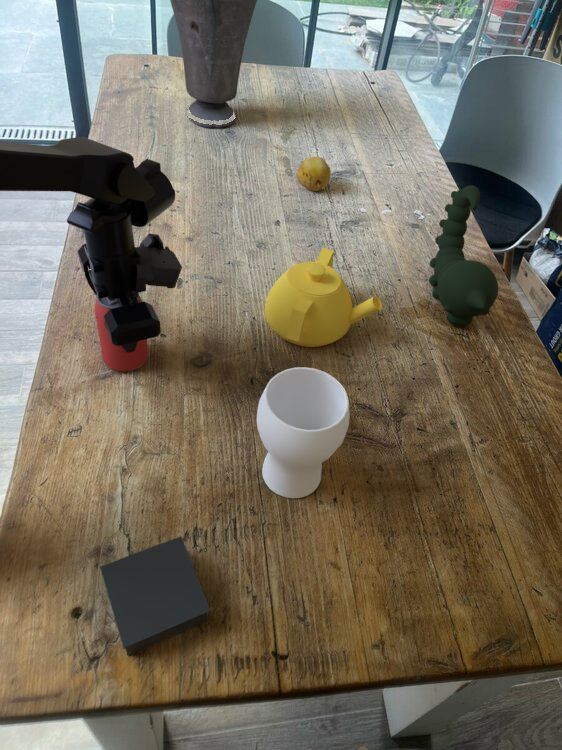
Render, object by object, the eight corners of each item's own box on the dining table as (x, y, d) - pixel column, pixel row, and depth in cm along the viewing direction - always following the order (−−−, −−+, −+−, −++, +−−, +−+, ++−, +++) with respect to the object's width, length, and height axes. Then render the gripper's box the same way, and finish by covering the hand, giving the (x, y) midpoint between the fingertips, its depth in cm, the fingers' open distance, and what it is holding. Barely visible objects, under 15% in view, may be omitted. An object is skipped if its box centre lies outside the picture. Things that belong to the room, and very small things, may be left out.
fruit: (339, 175, 119) (331, 151, 126) (308, 166, 117) (302, 142, 124) (326, 203, 124) (319, 179, 131) (296, 195, 122) (290, 171, 128)
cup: (291, 427, 81) (305, 350, 70) (348, 476, 76) (373, 402, 65) (233, 469, 75) (239, 392, 64) (292, 525, 70) (308, 453, 60)
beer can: (93, 364, 85) (81, 300, 76) (119, 337, 89) (110, 274, 81) (133, 379, 84) (125, 316, 75) (157, 351, 88) (152, 288, 79)
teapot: (360, 382, 88) (376, 329, 80) (246, 349, 90) (250, 294, 82) (382, 304, 101) (398, 251, 93) (283, 277, 104) (289, 223, 96)
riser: (126, 658, 58) (123, 648, 56) (103, 579, 64) (99, 566, 61) (210, 622, 62) (210, 610, 59) (181, 549, 67) (181, 535, 65)
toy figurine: (412, 266, 113) (437, 347, 94) (440, 171, 100) (475, 242, 82) (460, 270, 113) (494, 352, 95) (493, 176, 101) (540, 249, 82)
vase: (228, 145, 136) (233, -3, 114) (149, 120, 141) (140, -27, 119) (269, 113, 150) (280, -24, 128) (196, 91, 155) (195, -44, 133)
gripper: (198, 275, 69) (200, 365, 81) (151, 195, 80) (158, 284, 91) (104, 295, 65) (120, 386, 77) (68, 208, 76) (86, 299, 87)
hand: (123, 335), depth 83 cm, fingers closed on beer can, 7 cm apart
